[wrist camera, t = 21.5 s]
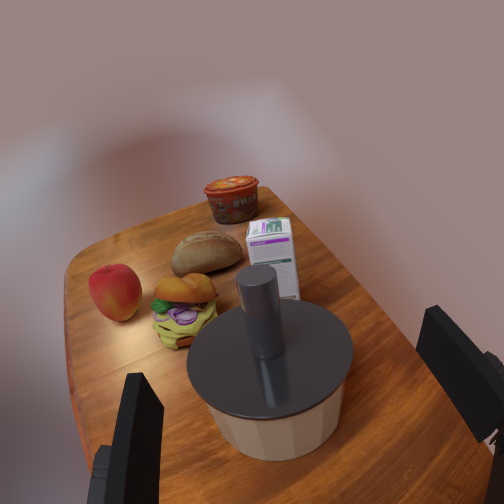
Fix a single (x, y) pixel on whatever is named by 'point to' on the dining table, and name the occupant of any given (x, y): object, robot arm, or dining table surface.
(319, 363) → the lid
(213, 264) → the bread roll
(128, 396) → the robot arm
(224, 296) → the dining table surface
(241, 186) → the food container
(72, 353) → the dining table surface
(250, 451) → the pot
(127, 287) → the apple
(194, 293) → the cheeseburger
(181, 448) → the dining table surface
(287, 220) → the syrup box
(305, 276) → the dining table surface
